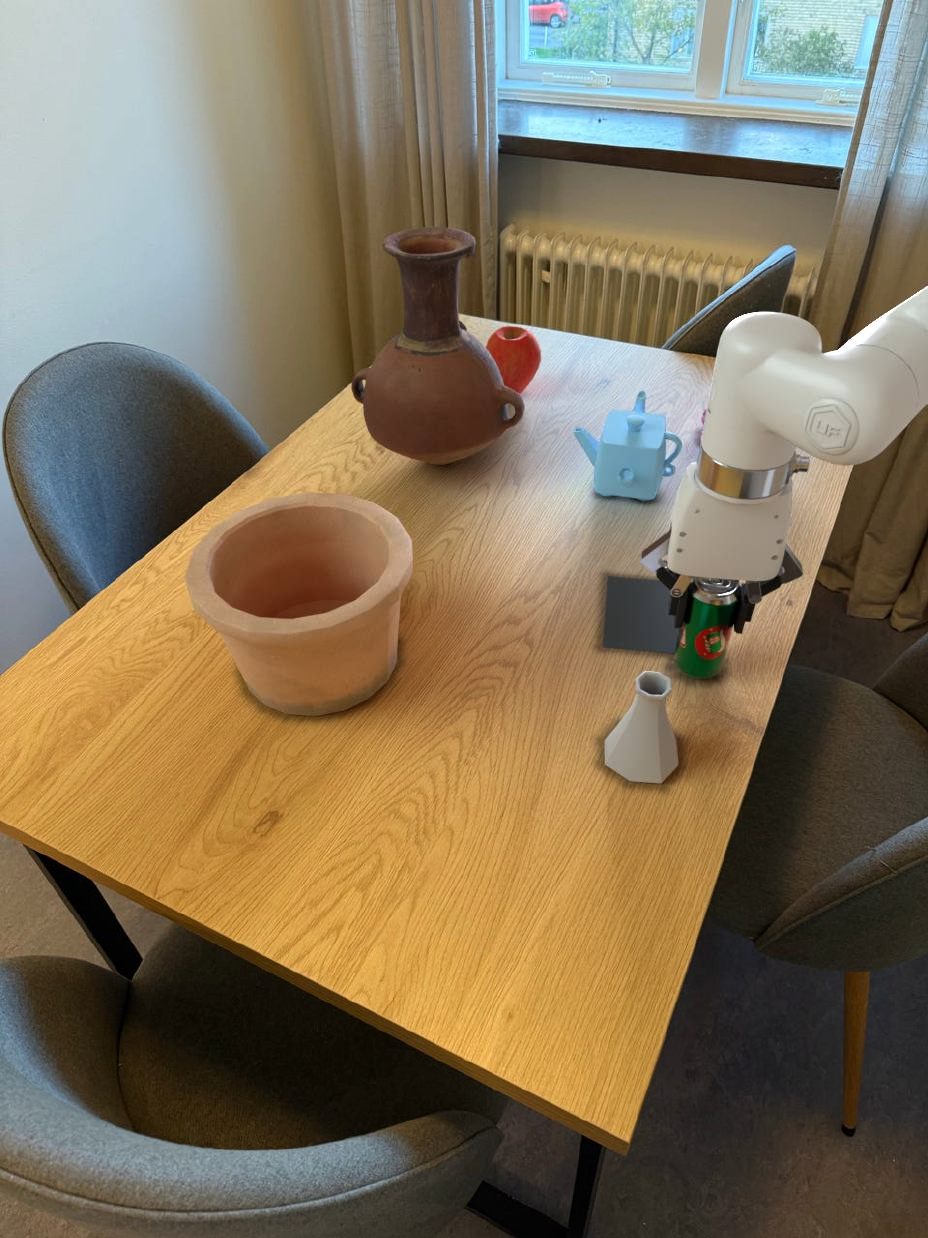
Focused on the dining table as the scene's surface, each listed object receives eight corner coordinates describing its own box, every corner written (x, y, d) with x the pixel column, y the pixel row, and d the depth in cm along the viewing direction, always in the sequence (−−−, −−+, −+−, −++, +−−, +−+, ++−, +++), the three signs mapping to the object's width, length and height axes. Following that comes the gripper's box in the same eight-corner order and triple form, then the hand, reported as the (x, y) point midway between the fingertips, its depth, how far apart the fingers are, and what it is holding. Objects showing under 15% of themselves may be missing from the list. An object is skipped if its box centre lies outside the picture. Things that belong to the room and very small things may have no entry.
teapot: (669, 529, 105) (681, 460, 99) (559, 515, 108) (563, 447, 101) (679, 454, 118) (690, 388, 111) (580, 443, 121) (585, 379, 114)
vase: (537, 432, 124) (544, 218, 103) (508, 509, 110) (509, 279, 89) (379, 415, 129) (357, 208, 108) (332, 486, 115) (296, 264, 94)
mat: (711, 586, 97) (711, 584, 97) (716, 659, 89) (716, 657, 89) (607, 577, 99) (607, 575, 99) (602, 647, 90) (602, 646, 90)
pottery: (353, 767, 80) (333, 663, 70) (176, 694, 87) (135, 590, 78) (456, 626, 94) (451, 522, 84) (295, 573, 101) (274, 473, 91)
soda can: (680, 640, 90) (697, 556, 82) (727, 654, 89) (749, 570, 80) (667, 672, 87) (682, 589, 79) (715, 688, 85) (736, 604, 77)
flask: (592, 770, 79) (601, 700, 72) (615, 716, 83) (625, 645, 77) (667, 796, 76) (684, 726, 69) (687, 739, 81) (704, 668, 74)
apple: (546, 386, 134) (549, 320, 126) (529, 411, 128) (530, 344, 121) (496, 378, 136) (496, 313, 129) (477, 402, 131) (476, 336, 123)
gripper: (840, 448, 72) (791, 604, 85) (641, 436, 75) (621, 590, 87) (855, 497, 67) (800, 656, 79) (639, 483, 69) (619, 639, 82)
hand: (707, 620), depth 83 cm, fingers closed on soda can, 5 cm apart
